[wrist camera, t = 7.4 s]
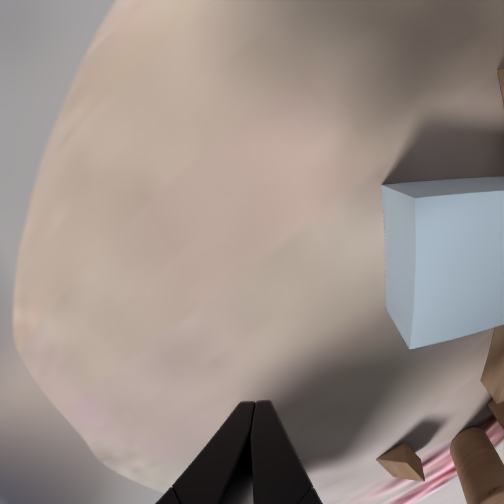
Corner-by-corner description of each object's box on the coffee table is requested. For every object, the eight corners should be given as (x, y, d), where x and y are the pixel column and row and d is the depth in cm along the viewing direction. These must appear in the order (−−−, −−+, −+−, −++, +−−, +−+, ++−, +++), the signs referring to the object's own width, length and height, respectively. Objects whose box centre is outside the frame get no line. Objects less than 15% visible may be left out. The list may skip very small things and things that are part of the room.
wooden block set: (526, 316, 19) (590, 343, 10) (557, 376, 17) (610, 415, 8) (375, 448, 23) (373, 524, 14) (419, 492, 22) (426, 563, 12)
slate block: (500, 281, 16) (539, 311, 12) (383, 305, 17) (409, 349, 13) (506, 175, 14) (554, 187, 10) (379, 184, 15) (414, 198, 11)
